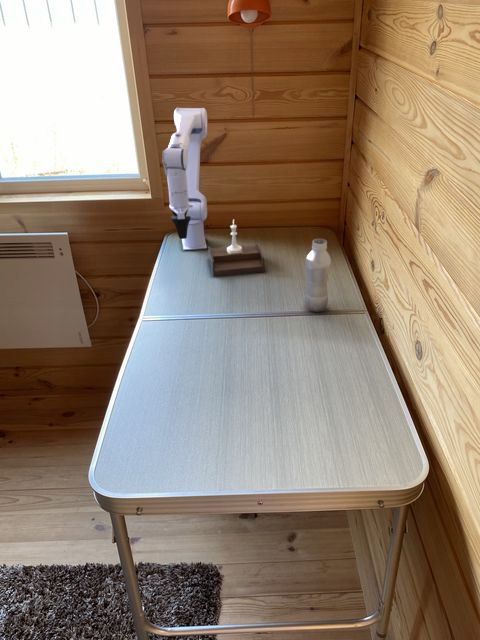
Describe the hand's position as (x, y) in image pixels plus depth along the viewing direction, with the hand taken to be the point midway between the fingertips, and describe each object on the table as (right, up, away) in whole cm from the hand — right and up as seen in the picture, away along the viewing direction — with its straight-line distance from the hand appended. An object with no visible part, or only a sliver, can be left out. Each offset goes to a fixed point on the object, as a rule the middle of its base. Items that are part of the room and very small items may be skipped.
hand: (182, 233), depth 162 cm
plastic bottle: (+40, -25, -18) cm, 50 cm away
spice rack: (+17, -9, +5) cm, 20 cm away
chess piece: (+16, -4, +5) cm, 17 cm away
